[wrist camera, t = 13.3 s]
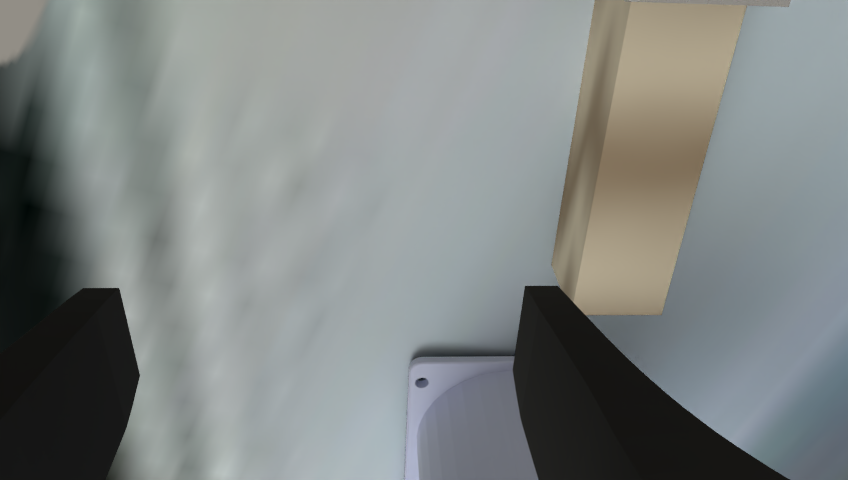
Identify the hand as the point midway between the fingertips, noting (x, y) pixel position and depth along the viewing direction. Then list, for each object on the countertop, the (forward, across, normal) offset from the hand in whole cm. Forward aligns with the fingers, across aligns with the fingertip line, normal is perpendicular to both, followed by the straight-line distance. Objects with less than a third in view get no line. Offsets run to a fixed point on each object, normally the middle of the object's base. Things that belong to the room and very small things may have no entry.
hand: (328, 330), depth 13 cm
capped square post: (+10, -9, +1) cm, 14 cm away
